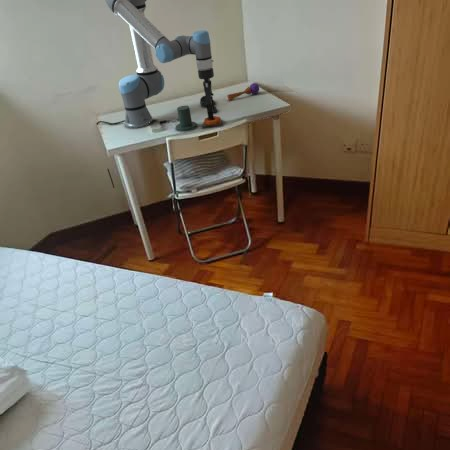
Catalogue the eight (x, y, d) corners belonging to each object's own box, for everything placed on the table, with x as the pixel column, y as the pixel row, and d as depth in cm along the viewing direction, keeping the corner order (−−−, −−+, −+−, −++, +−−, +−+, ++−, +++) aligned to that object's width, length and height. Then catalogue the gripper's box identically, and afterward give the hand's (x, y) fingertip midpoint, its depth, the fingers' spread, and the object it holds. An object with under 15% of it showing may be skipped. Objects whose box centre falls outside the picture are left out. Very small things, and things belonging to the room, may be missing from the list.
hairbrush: (207, 109, 229) (197, 95, 246) (208, 116, 231) (198, 102, 249) (222, 106, 230) (211, 92, 247) (222, 113, 232) (211, 99, 250)
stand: (175, 132, 216) (171, 112, 209) (177, 125, 224) (173, 105, 218) (196, 129, 215) (193, 109, 209) (197, 122, 223) (194, 102, 217)
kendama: (225, 92, 245) (255, 81, 249) (228, 102, 248) (257, 92, 252) (228, 92, 240) (259, 81, 244) (231, 103, 244) (261, 92, 247)
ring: (204, 125, 215) (204, 122, 214) (205, 120, 221) (204, 117, 220) (219, 123, 215) (219, 120, 213) (220, 118, 221) (219, 115, 219)
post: (204, 128, 216) (199, 99, 206) (204, 122, 222) (200, 94, 213) (221, 126, 215) (217, 97, 206) (221, 120, 222) (217, 92, 212)
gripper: (212, 74, 192) (218, 121, 206) (213, 61, 210) (218, 105, 224) (196, 76, 192) (203, 123, 206) (198, 63, 211) (204, 107, 225)
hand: (211, 114), depth 215 cm, fingers open, 13 cm apart
